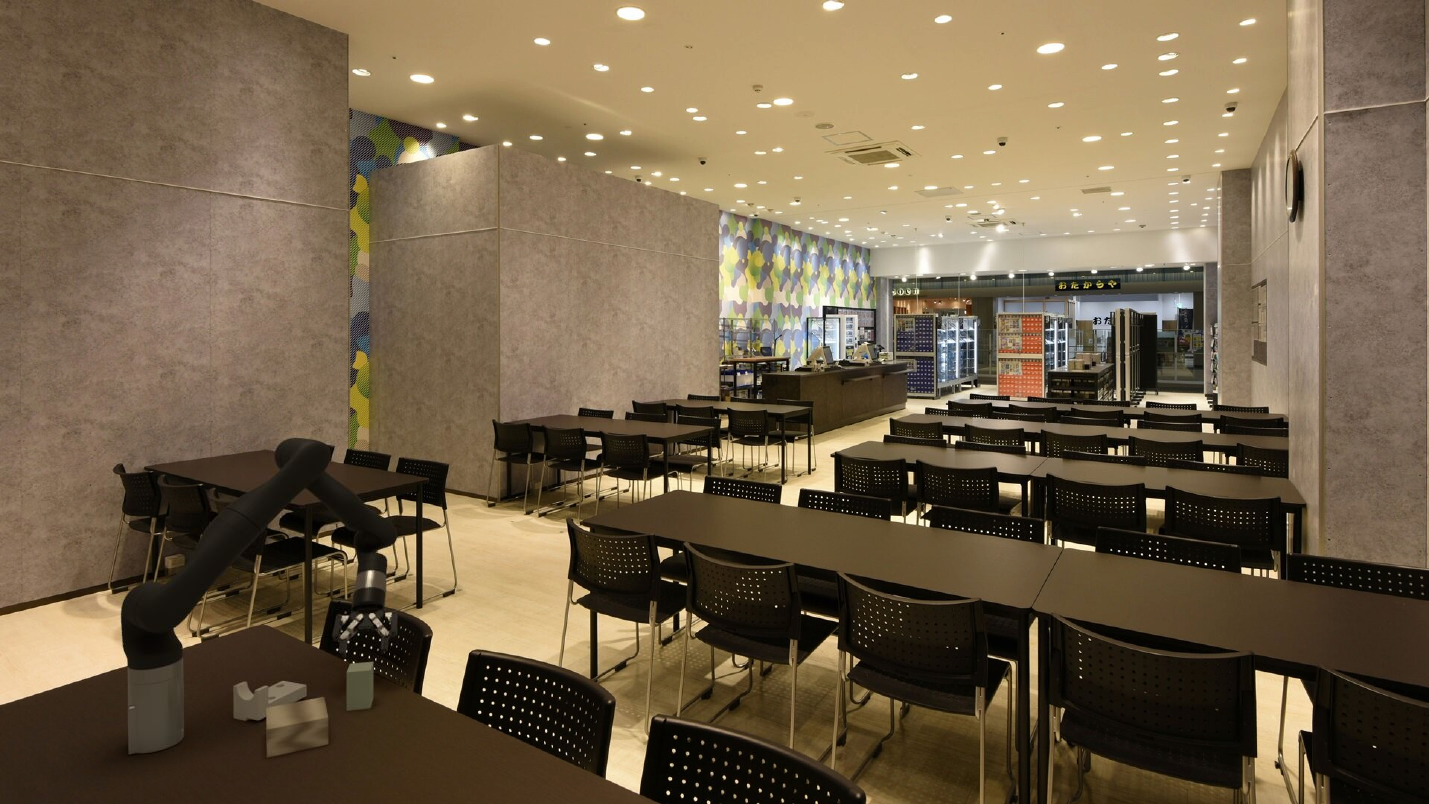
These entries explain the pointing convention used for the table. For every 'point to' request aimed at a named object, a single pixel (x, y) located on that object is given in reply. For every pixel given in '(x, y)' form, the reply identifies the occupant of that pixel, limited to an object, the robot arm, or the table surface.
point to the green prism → (359, 686)
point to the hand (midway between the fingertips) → (363, 654)
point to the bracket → (264, 698)
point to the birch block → (296, 726)
